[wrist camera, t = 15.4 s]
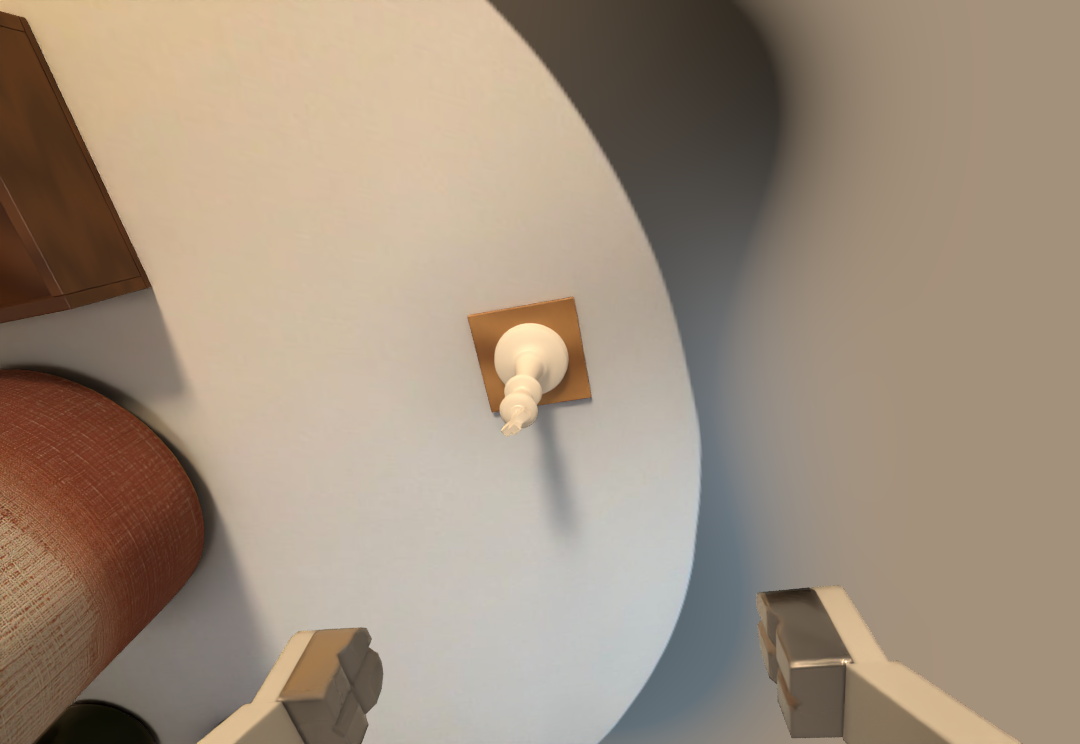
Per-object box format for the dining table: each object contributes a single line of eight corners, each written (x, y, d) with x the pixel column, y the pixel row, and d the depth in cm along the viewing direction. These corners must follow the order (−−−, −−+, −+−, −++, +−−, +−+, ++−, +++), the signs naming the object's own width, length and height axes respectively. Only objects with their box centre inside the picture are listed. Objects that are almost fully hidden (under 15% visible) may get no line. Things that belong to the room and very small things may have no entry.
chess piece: (479, 359, 34) (443, 429, 25) (529, 307, 33) (510, 361, 24) (533, 406, 35) (517, 490, 26) (584, 358, 34) (586, 429, 25)
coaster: (468, 315, 34) (467, 316, 33) (573, 296, 33) (573, 297, 32) (492, 410, 36) (491, 412, 36) (591, 395, 35) (591, 397, 35)
